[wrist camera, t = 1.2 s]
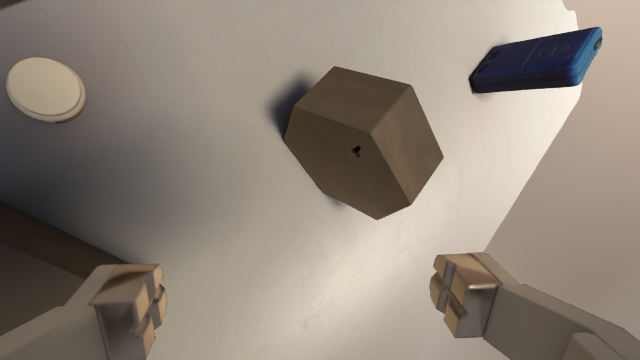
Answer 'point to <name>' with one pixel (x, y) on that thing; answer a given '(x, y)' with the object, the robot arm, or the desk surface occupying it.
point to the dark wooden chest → (51, 241)
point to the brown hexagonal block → (364, 141)
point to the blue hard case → (539, 62)
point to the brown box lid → (31, 285)
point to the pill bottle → (46, 90)
